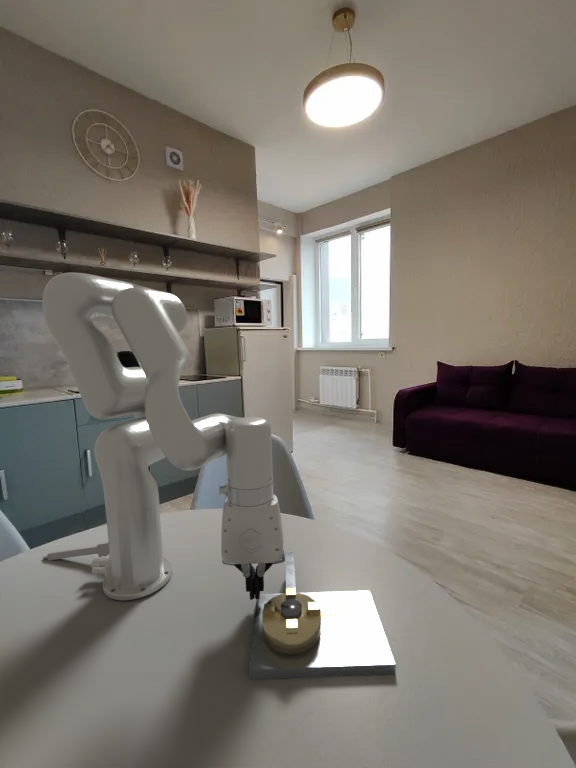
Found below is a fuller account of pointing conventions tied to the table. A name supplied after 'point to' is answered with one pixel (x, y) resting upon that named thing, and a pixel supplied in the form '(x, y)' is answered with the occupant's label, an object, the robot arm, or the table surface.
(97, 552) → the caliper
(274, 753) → the table surface
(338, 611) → the base plate
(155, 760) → the table surface
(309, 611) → the gold disc with handle
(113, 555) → the robot arm
